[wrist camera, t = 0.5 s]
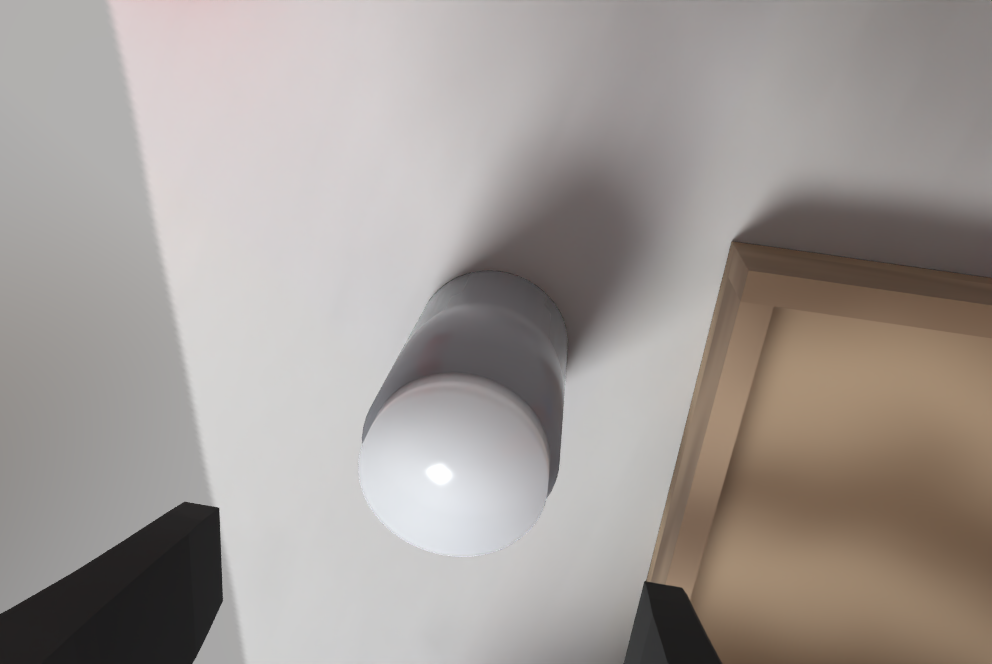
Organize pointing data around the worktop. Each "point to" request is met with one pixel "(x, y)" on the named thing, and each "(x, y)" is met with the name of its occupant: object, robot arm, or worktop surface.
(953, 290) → the walnut tray
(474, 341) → the cylinder
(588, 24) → the worktop surface
